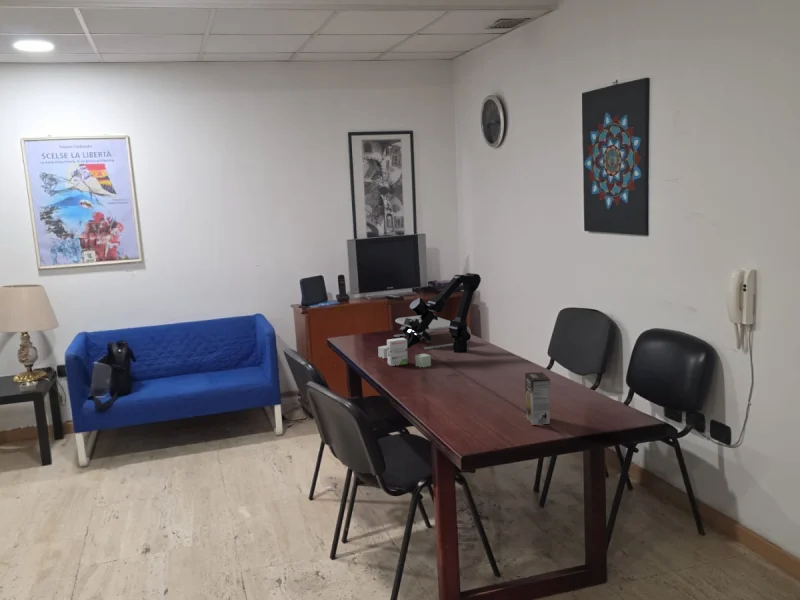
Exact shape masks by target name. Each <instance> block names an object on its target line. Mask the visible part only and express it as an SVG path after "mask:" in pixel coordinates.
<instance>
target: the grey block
mask: <svg viewBox="0 0 800 600" xmlns="http://www.w3.org/2000/svg"><path fill="white" fill-rule="evenodd" d="M377 349H378V351H377V354H378V358H381V357H382V358H381V359H384V358H385V359H387V344H386V345H381V346H378V347H377Z"/></svg>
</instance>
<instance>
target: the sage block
mask: <svg viewBox="0 0 800 600" xmlns="http://www.w3.org/2000/svg"><path fill="white" fill-rule="evenodd" d="M414 356H415V358H414V360H415V367H418V366H419V367H418V368H421V367H423V368H427V366H428V367H431V366H432V358H431V355H430V354H428V353H420V354H415V355H414Z"/></svg>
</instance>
